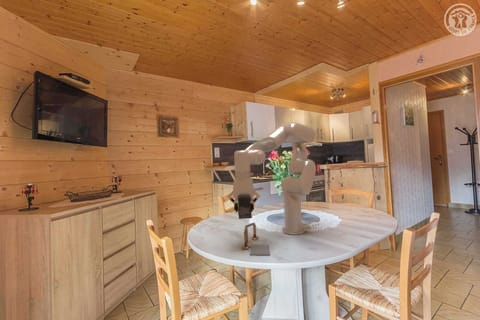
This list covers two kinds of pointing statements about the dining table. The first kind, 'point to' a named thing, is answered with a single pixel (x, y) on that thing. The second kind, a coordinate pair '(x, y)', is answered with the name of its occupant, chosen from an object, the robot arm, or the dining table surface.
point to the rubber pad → (260, 250)
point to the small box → (244, 207)
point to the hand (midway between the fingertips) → (244, 211)
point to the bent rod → (247, 236)
